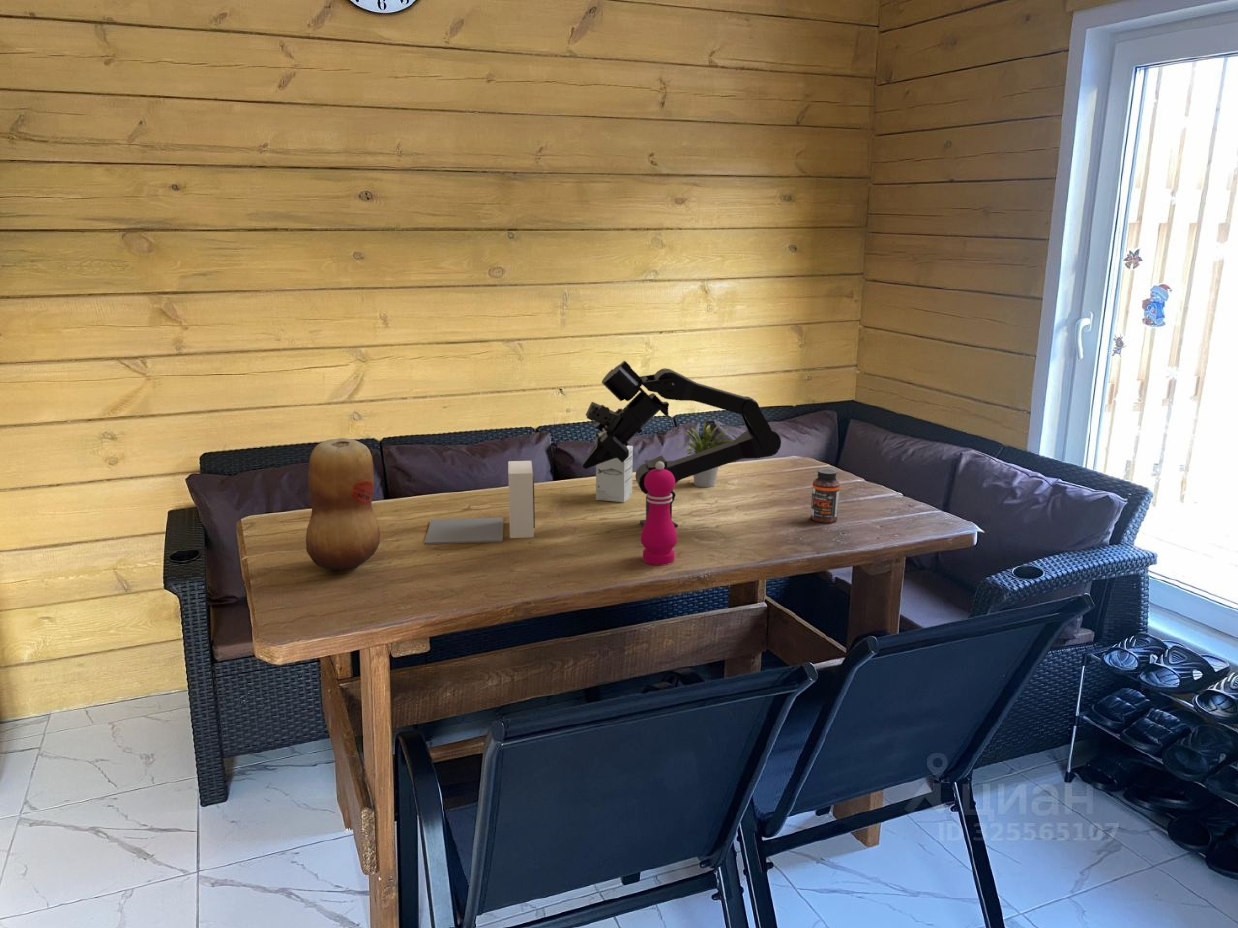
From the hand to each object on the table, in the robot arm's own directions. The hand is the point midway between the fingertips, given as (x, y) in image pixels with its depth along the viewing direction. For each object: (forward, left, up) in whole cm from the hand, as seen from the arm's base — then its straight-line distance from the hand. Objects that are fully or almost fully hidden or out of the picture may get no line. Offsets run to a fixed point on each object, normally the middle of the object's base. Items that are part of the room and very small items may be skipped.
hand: (583, 467), depth 205 cm
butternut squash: (-5, +51, -14) cm, 53 cm away
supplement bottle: (-16, -52, -14) cm, 56 cm away
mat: (+8, +24, -14) cm, 29 cm away
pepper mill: (-25, -6, -14) cm, 29 cm away
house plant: (+20, -41, -14) cm, 47 cm away
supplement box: (+19, -16, -14) cm, 28 cm away
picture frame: (+4, +13, -14) cm, 19 cm away
